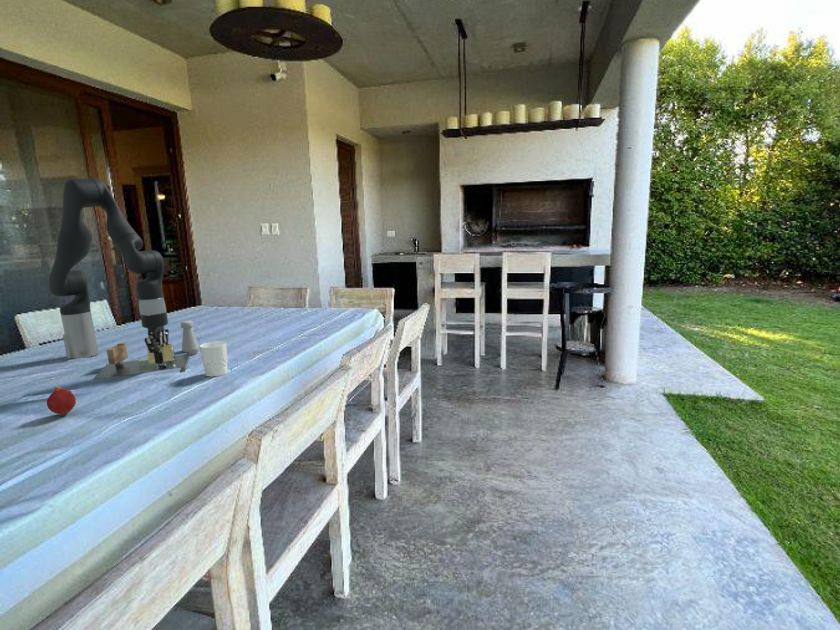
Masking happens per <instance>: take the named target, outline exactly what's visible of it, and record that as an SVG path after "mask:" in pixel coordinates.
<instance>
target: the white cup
mask: <svg viewBox="0 0 840 630" xmlns="http://www.w3.org/2000/svg"><path fill="white" fill-rule="evenodd" d="M227 350H228V348H227V342H226V341H221V340H220V341H219V340H218V341H209V342H204V343H202V344H200V345H199V352H200V357H201V362H202V367H203V369H204V376H206V377H207V376H210V378H213V376H216V377H221V376H224V375H226V374H228V372H229V370H228V368H229V367H228V351H227Z"/></svg>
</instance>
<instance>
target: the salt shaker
mask: <svg viewBox="0 0 840 630" xmlns="http://www.w3.org/2000/svg"><path fill="white" fill-rule="evenodd" d="M193 327H194V322H193V321H192V320H184V321H181V323H180V328H182V330H183V331H182V341H181V351H182V352H183V353H186V354H190V355H191V356H195V355H197V354H198V352H199V350H200V345H199V343H198V340H197V337H196V334H195V332H194V329H193Z"/></svg>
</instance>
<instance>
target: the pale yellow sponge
mask: <svg viewBox="0 0 840 630" xmlns="http://www.w3.org/2000/svg"><path fill="white" fill-rule="evenodd" d="M172 346H173V345H172V343H168V344H167V345H166V346H161V352H162V357H163V363H161V364H158V367H166V366H167V365H166V361H173V360H174V357H173V350H172ZM146 350H147V358H149V364H150V363H155V358H154V353H150V352H149V350H148V348H146Z"/></svg>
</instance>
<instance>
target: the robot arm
mask: <svg viewBox="0 0 840 630" xmlns="http://www.w3.org/2000/svg"><path fill="white" fill-rule="evenodd" d="M97 207H98V208H99V207H100V208H101V209H102V210H103V211H104V212H105V214H106V222H105V223H106V224H105V225H106V232H107V235H108V236H109V238H110V240H111V241H112V242H113V243H114V245H116V247H117V248H118V249H119V251H120V253H121V257H122V258H123V259H122V260H123V261H124V265H125V267H126V268H127V270H129V271H130V272H132V273H134V274H136V275H139V274H146V277H145V278H144V279H142V280H140V281H138V282H137V283H136V292H137V299H138V310H139V316H140V322H141V326H142V328H145V329H147V337H145V338H144V339H143V340H144V343H145V345H146V347H147V349H148V350H149V352H150V353H154V358H155V363H156V364H161V363H163V357H162V352H161V346H166V345H167V344H169V333H170V331H169V329H167V328H166V329H165V326H167V325H168V324H169V320H168V313H167V307H166V302H165V299H164V293H163V287H162V285H163V277H164V270H165V261H164V257H163V256H162V254H161V253H160V252H159V251H157V250H154V249H153V250H151V249H150V250H141V249H142V248H143V246H144V242H143V239H142V238H141V236H139V234H138V233H137V232H136V231H135V229H134V228H133V227H132V226H131V224H130V223H129V222H128V221H127V219H126V217H125V216H124V214H123V212H122V210H121V208H120V206H119V205H118V203H117V201H116V200H115V198H114V196H113V195H112V193H111V191H110V189H109V188H108V186H107V185H106V184H105V182H103V181H102V180H100V179H99V178H95V177H94V178H93V177H90V178H89V177H88V178H87V177H85V178H84V177H79V178H69V179H67V180H65V183H64V186H63V191H62V214H61V223H60V228H59V232H58V237H57V243H56V251H55V257H54V262H53V264H52V266H51V271H50V273H49V277H48V289H49V291H50V293H51V295H53V296H54V297H69V296H74V298H73V299H72V300H71V301H69V302H68V303H65V304H63V305H62V306H60V307H59V313H60V318H61V323H62V328H63V334H62V338H63V343H64V349H65V353H66V359H67V360H80V359H86V358H87V359H88V358H91V356H92V357H94V356H97V355H99V347H98V344H97V336H96V332H95V327H94V321H93V315H92V311H91V300H90V295H89V292H90V291H89V286H88V280H87V276H86V275H85V273H84V272H83V271H82V270H79V269H78V270H76V269H75V270H72V269H73V268H74V267H75V266H76V265H78V264H79V263H81V261H83V260H84V259H85V258H86V257H87V256H88V254H89V253H90V250H91V247H92V242H93V234H92V232H91V229H89V227H88V226H87V225H86V223H85V222H84V221H83V220H82V218H81V214H82V210H83V209H84V208H97ZM140 250H141V251H140Z"/></svg>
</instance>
